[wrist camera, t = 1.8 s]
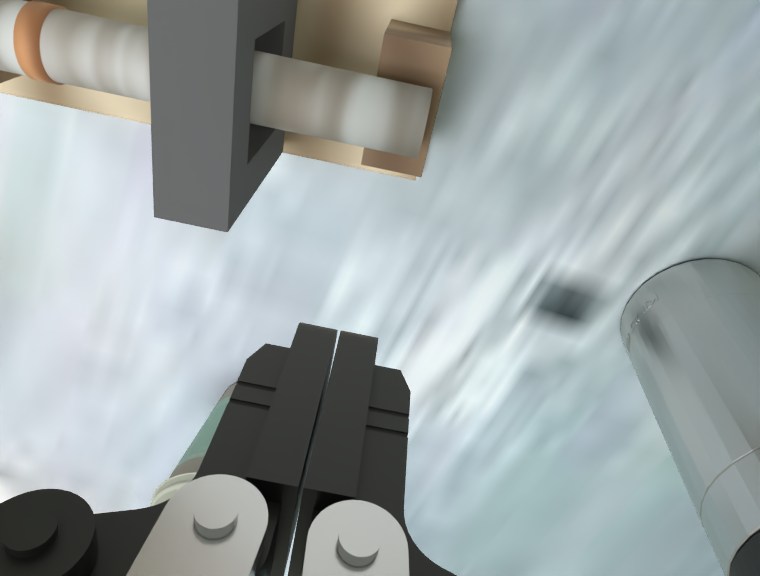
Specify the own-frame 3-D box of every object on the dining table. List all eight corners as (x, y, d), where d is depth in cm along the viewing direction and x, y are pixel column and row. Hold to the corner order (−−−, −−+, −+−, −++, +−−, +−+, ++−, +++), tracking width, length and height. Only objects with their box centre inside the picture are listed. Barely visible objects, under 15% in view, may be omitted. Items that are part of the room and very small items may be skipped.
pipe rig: (459, -16, 29) (467, 7, 21) (416, 170, 34) (409, 242, 26) (-20, -122, 28) (-191, -139, 20) (13, 85, 33) (-113, 134, 26)
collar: (300, -34, 27) (238, -14, 18) (283, 151, 31) (227, 232, 23) (237, -48, 26) (146, -35, 18) (228, 139, 31) (154, 216, 23)
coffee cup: (331, 426, 46) (301, 567, 36) (246, 455, 49) (196, 593, 39) (272, 350, 43) (220, 483, 32) (183, 386, 45) (110, 519, 35)
